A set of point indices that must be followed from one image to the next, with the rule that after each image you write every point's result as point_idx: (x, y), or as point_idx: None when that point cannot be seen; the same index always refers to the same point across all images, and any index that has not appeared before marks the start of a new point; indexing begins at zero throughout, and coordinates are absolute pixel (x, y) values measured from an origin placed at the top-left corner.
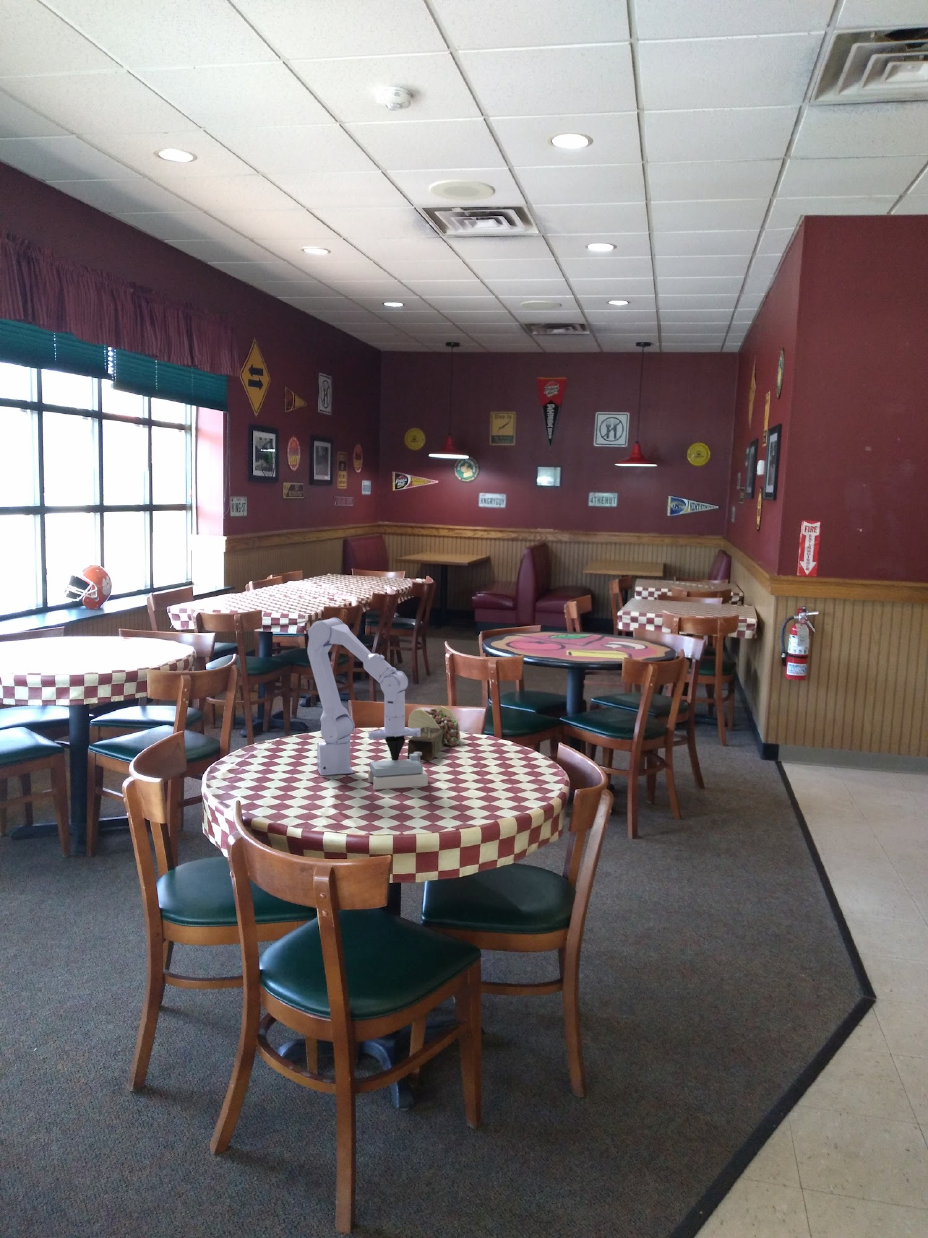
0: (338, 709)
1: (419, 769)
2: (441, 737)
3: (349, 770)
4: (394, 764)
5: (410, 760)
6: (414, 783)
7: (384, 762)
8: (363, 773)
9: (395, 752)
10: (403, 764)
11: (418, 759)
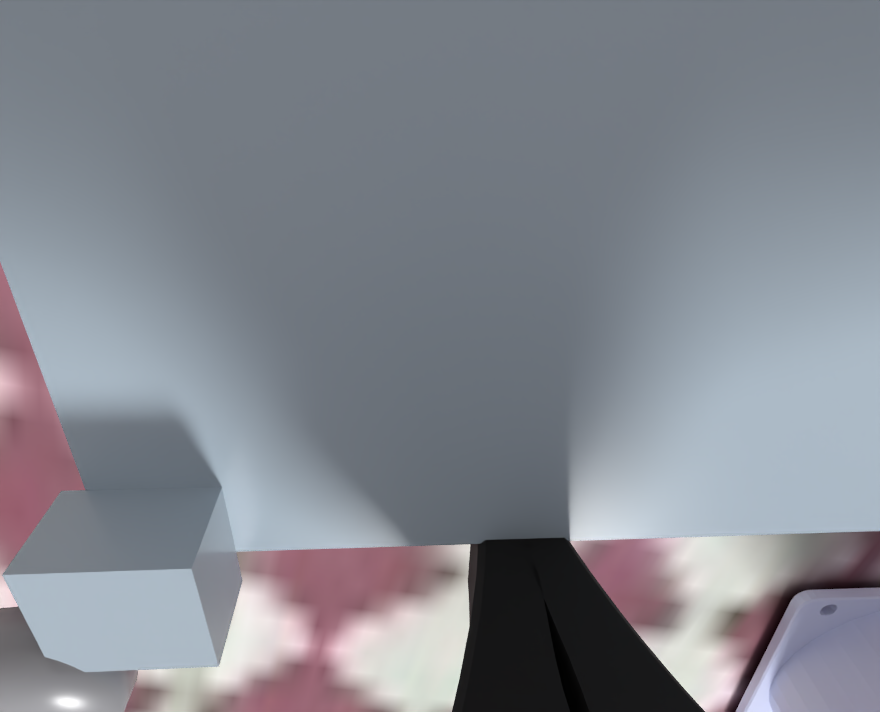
0: None
1: None
2: None
3: (816, 633)
4: (688, 267)
5: (234, 477)
6: None
7: (803, 451)
8: (705, 583)
9: (588, 685)
10: (471, 214)
11: None
